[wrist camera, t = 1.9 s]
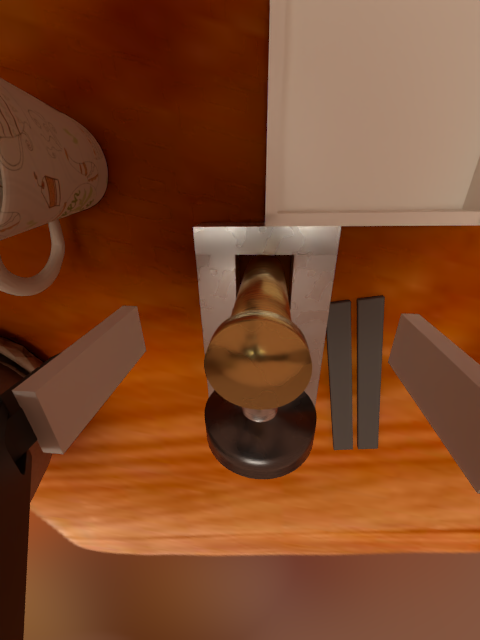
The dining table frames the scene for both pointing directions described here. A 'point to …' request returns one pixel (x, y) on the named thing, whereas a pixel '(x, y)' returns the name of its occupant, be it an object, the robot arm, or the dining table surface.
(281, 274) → the pin
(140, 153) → the dining table surface
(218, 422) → the block
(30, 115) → the mug
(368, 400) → the pair of grey strips
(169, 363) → the dining table surface
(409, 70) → the tray
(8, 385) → the potted plant
